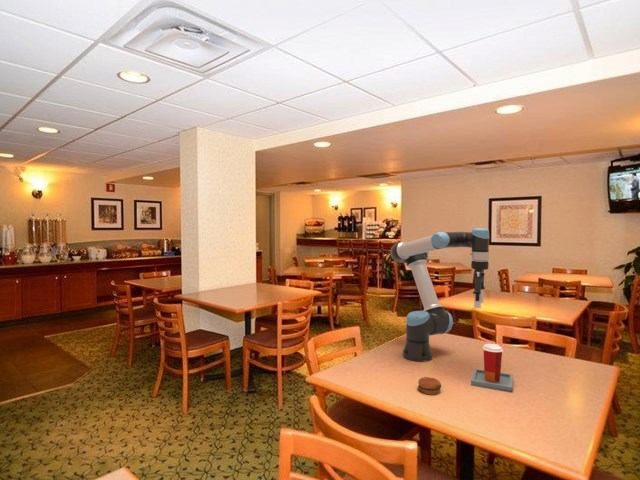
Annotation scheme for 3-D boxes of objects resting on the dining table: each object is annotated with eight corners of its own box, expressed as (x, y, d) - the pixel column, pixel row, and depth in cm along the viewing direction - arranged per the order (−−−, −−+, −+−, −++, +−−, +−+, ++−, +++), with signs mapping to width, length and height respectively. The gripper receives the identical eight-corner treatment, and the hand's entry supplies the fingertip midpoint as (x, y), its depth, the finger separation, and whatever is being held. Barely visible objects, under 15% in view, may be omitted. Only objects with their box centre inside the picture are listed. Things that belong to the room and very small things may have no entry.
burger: (433, 397, 153) (433, 386, 153) (413, 390, 160) (413, 379, 160) (445, 390, 160) (445, 379, 160) (425, 384, 167) (425, 373, 166)
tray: (474, 372, 179) (474, 368, 179) (512, 378, 172) (512, 374, 172) (471, 385, 165) (471, 380, 165) (512, 392, 157) (512, 387, 157)
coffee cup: (498, 376, 172) (498, 343, 172) (505, 383, 164) (506, 349, 164) (479, 375, 173) (479, 343, 173) (485, 383, 165) (486, 348, 164)
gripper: (474, 258, 193) (473, 299, 194) (468, 262, 171) (467, 309, 172) (490, 259, 190) (489, 301, 191) (486, 263, 168) (485, 311, 169)
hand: (478, 305), depth 181 cm, fingers open, 13 cm apart
